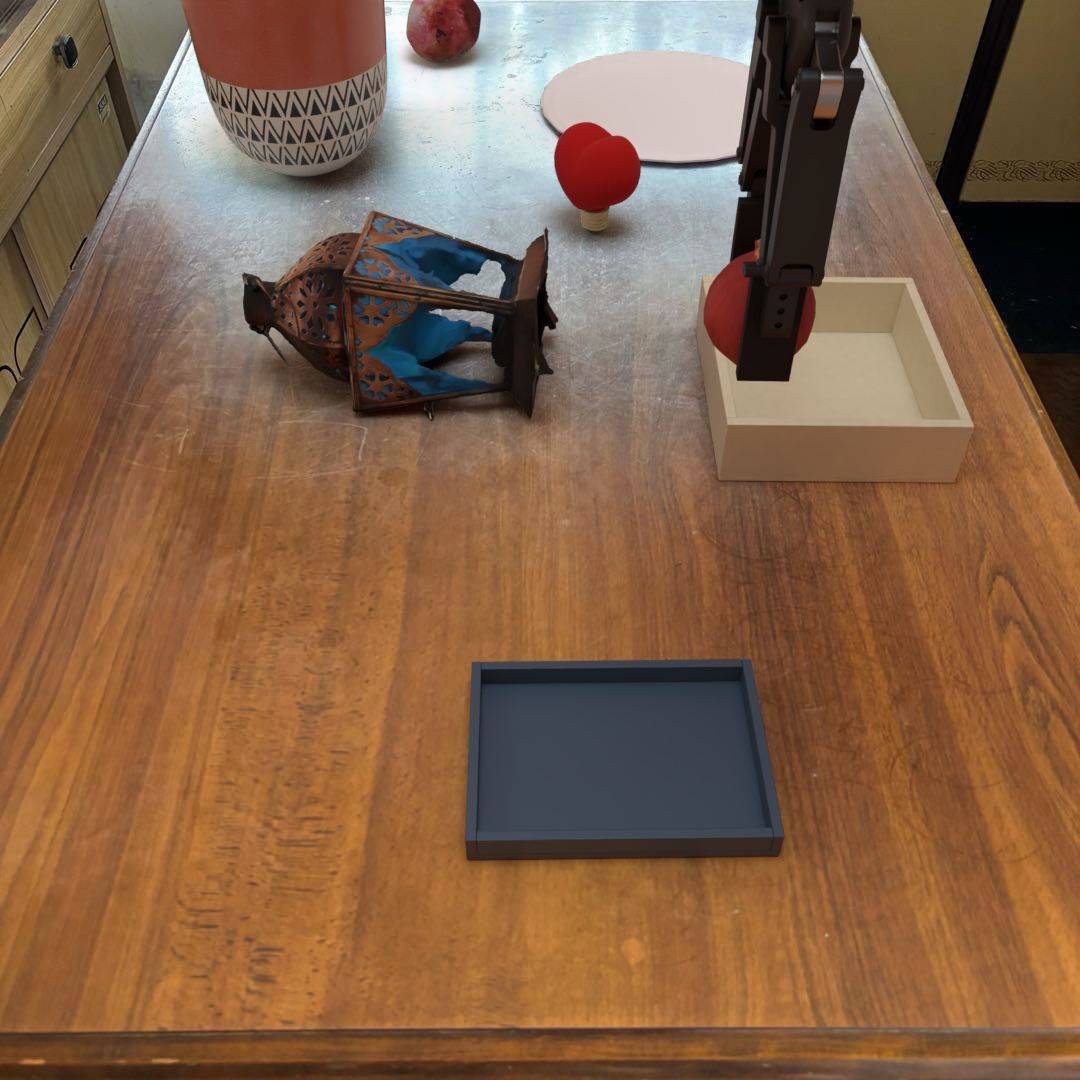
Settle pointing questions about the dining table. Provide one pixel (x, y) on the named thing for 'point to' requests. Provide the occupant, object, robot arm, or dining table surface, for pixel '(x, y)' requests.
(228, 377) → the dining table surface
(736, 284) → the onion
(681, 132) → the plate
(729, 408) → the beige open rectangular box
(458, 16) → the fruit
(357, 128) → the planter
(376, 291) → the lantern
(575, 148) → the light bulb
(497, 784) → the tray
